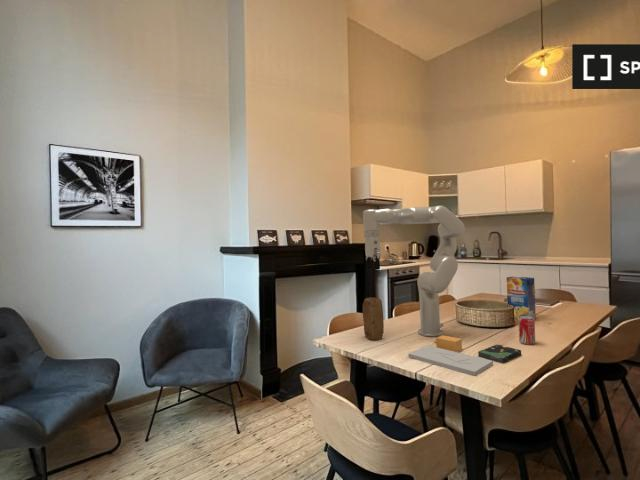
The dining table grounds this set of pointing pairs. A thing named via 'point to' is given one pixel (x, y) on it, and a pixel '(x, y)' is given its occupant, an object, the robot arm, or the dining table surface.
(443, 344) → the block
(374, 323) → the block
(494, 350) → the disk drive
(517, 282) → the juice carton
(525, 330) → the soda can
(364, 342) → the dining table surface
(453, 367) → the board
